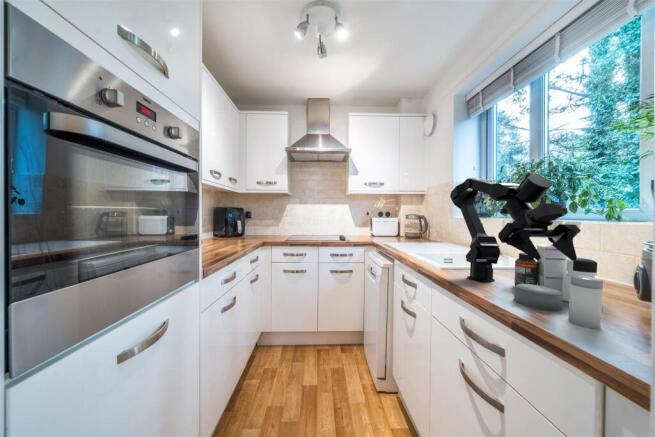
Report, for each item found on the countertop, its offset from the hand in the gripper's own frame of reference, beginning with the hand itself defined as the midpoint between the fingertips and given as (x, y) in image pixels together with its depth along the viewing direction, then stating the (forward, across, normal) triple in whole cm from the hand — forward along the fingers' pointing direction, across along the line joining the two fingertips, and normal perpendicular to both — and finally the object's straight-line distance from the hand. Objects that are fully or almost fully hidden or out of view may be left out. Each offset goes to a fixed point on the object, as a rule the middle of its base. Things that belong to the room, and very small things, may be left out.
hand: (557, 259), depth 63 cm
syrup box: (-1, +13, +20) cm, 24 cm away
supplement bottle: (-4, +9, +23) cm, 25 cm away
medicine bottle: (+4, +14, +14) cm, 21 cm away
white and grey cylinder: (+14, 0, +4) cm, 15 cm away
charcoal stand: (+6, 0, +13) cm, 14 cm away
